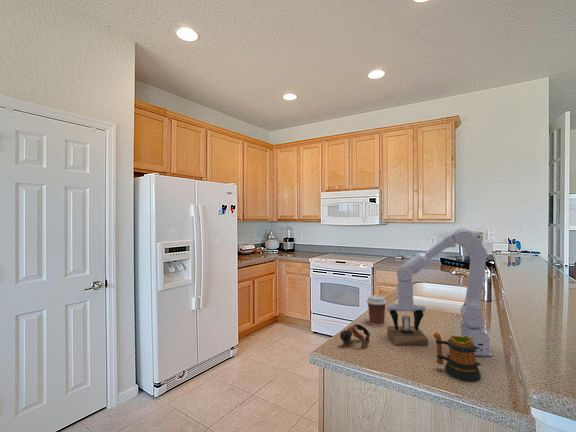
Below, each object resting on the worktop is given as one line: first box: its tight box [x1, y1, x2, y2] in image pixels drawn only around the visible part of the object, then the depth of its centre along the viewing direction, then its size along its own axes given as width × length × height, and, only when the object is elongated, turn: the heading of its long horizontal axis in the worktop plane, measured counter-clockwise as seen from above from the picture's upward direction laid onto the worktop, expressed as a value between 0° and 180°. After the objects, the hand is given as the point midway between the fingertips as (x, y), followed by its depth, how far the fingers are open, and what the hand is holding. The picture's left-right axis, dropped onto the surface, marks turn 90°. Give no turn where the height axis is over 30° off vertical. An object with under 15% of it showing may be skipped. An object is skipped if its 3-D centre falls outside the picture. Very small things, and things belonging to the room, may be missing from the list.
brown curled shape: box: [339, 323, 371, 349], centre depth 113 cm, size 12×10×8 cm
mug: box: [432, 332, 482, 383], centre depth 92 cm, size 13×10×12 cm
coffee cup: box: [366, 294, 388, 326], centre depth 136 cm, size 9×9×12 cm
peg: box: [401, 314, 411, 334], centre depth 117 cm, size 3×3×9 cm
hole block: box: [387, 325, 429, 347], centre depth 117 cm, size 12×12×3 cm
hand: (406, 329), depth 117 cm, fingers open, 7 cm apart
